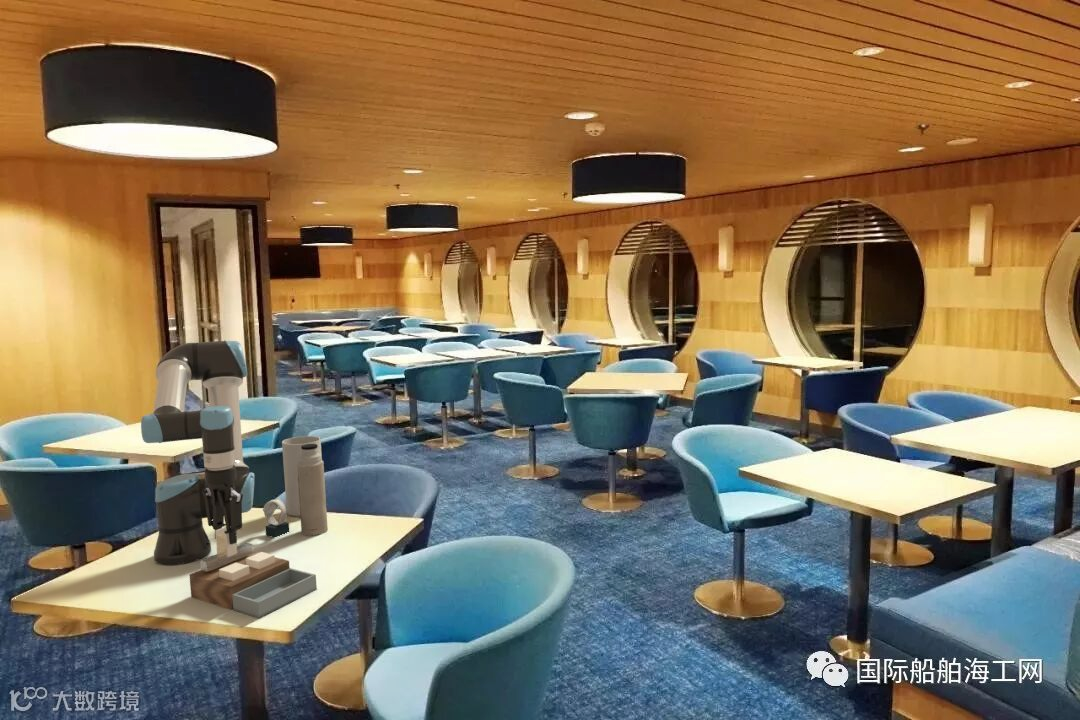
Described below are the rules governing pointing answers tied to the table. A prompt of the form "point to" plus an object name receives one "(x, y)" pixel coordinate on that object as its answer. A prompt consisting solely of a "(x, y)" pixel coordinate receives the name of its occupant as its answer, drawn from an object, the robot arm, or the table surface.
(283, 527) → the watch
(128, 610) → the table surface
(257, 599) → the box
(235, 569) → the tile
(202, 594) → the wood grain panel
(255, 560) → the tile
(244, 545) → the gray bar with knob
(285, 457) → the cylinder vase
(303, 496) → the thermos bottle
